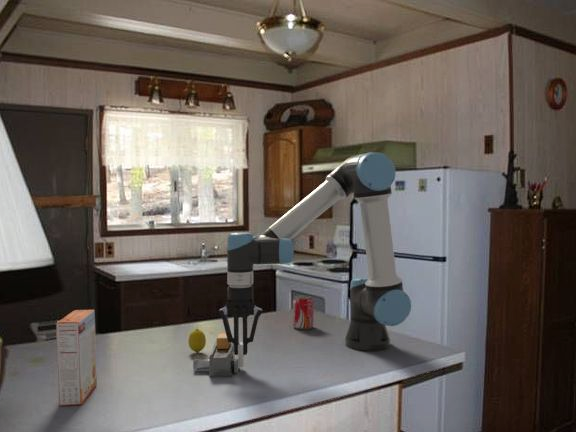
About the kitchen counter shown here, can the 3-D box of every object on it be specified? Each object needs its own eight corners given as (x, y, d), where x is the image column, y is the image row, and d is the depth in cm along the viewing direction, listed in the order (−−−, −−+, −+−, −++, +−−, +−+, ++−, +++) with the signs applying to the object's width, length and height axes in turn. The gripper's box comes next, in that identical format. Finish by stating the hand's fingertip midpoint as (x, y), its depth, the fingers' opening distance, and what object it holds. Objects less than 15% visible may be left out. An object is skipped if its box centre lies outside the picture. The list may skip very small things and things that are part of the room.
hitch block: (234, 361, 164) (234, 341, 163) (230, 376, 150) (230, 354, 149) (215, 361, 164) (215, 341, 163) (209, 376, 150) (209, 354, 149)
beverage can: (290, 325, 208) (290, 295, 207) (310, 324, 210) (310, 294, 209) (295, 331, 200) (295, 299, 200) (316, 329, 202) (316, 298, 202)
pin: (239, 366, 158) (239, 355, 158) (237, 372, 152) (237, 361, 152) (195, 366, 158) (195, 355, 158) (192, 373, 152) (192, 361, 152)
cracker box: (74, 386, 143) (73, 309, 142) (97, 385, 143) (96, 308, 143) (56, 406, 129) (54, 321, 128) (81, 405, 129) (80, 321, 129)
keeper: (231, 343, 163) (230, 333, 163) (229, 348, 157) (229, 338, 157) (219, 343, 163) (218, 333, 163) (216, 348, 157) (216, 338, 157)
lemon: (202, 356, 169) (202, 331, 169) (186, 355, 170) (185, 330, 170) (208, 351, 175) (208, 327, 174) (192, 350, 176) (192, 326, 175)
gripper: (216, 288, 150) (217, 369, 151) (262, 287, 151) (262, 369, 152) (219, 283, 158) (220, 361, 159) (263, 283, 158) (263, 361, 159)
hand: (240, 365), depth 155 cm, fingers closed
